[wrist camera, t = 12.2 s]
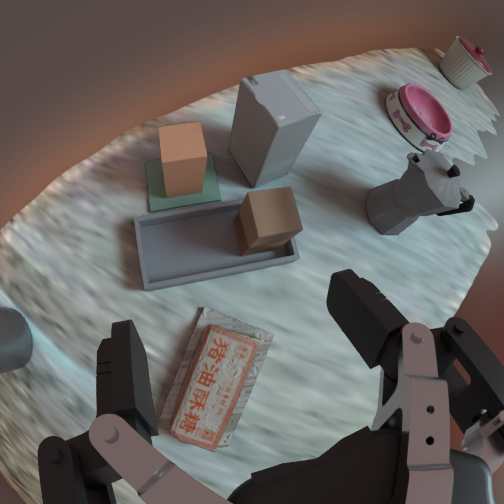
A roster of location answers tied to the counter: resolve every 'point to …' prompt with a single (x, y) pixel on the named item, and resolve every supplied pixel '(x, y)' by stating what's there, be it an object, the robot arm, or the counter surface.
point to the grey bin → (198, 246)
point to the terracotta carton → (183, 158)
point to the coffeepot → (418, 194)
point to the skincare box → (270, 125)
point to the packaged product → (214, 380)
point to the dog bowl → (419, 117)
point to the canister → (464, 64)
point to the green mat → (162, 203)
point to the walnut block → (266, 221)
